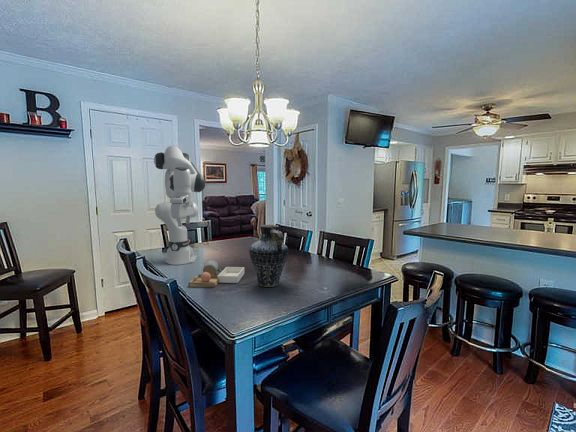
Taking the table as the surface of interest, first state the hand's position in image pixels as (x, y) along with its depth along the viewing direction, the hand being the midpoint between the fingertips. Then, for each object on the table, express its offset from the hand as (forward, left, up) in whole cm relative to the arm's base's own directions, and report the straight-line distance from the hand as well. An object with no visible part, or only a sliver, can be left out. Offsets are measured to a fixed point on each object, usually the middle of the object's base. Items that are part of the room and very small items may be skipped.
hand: (184, 225), depth 156 cm
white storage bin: (-3, +24, -29) cm, 38 cm away
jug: (+6, +46, -29) cm, 55 cm away
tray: (+6, +13, -29) cm, 32 cm away
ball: (+6, +13, -26) cm, 29 cm away
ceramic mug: (-8, +12, -29) cm, 33 cm away
